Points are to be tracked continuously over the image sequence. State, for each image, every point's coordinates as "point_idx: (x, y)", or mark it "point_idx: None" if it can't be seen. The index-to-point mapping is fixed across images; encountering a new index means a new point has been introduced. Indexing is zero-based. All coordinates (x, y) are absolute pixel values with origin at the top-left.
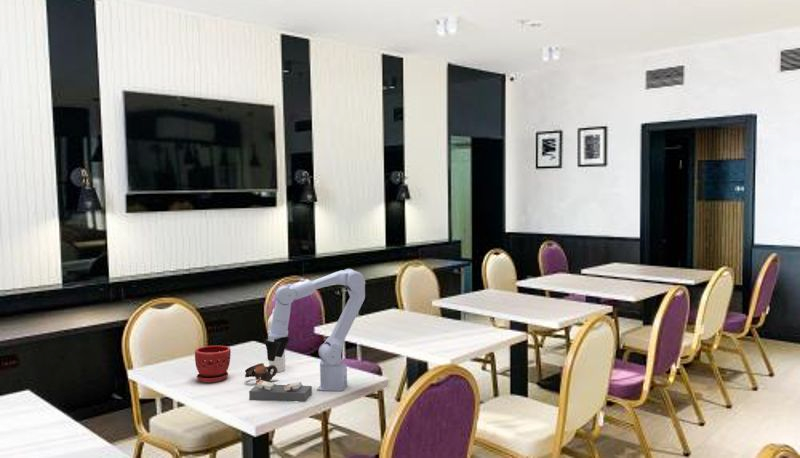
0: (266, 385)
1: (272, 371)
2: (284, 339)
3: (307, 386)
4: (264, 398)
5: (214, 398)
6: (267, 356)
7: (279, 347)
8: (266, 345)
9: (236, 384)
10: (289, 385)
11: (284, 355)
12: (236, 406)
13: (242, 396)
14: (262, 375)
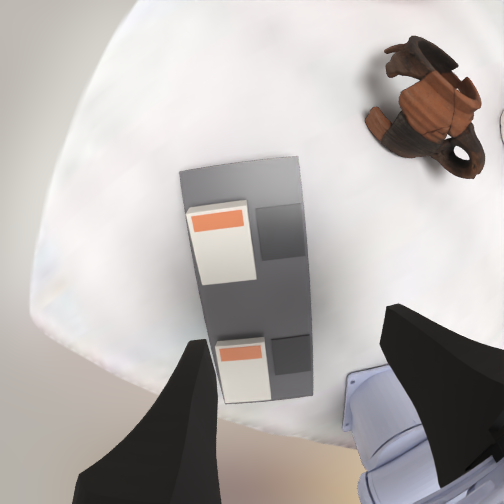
0: (201, 263)
1: (501, 123)
2: (455, 462)
3: (304, 386)
4: None
5: (172, 32)
6: (182, 359)
7: (428, 375)
8: (114, 456)
9: (358, 28)
10: (234, 364)
11: None
12: (108, 169)
13: (220, 118)
14: (405, 129)
